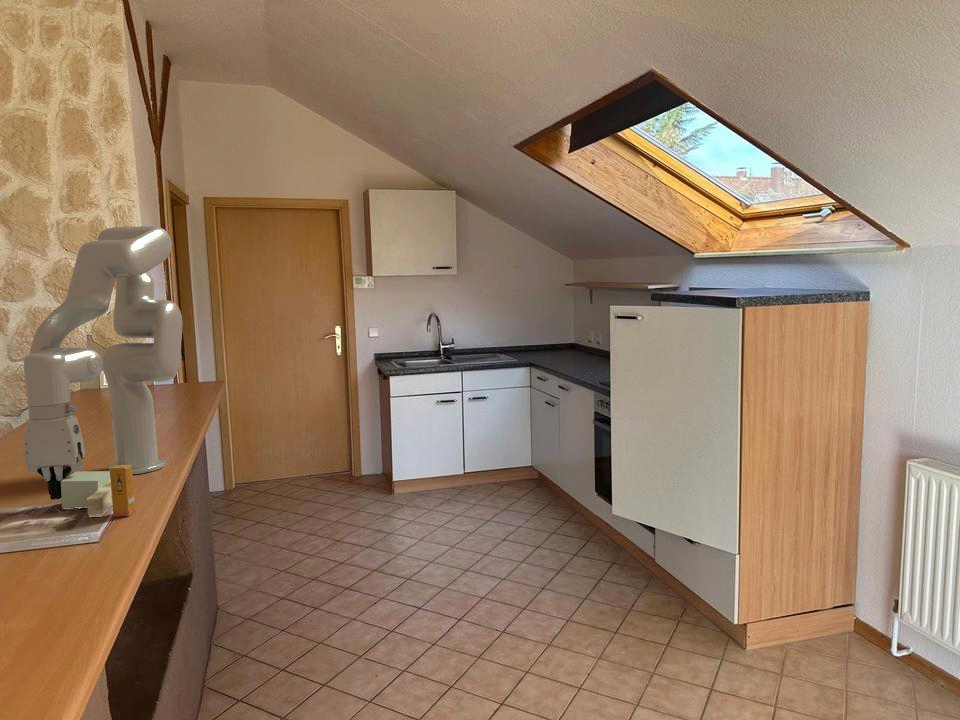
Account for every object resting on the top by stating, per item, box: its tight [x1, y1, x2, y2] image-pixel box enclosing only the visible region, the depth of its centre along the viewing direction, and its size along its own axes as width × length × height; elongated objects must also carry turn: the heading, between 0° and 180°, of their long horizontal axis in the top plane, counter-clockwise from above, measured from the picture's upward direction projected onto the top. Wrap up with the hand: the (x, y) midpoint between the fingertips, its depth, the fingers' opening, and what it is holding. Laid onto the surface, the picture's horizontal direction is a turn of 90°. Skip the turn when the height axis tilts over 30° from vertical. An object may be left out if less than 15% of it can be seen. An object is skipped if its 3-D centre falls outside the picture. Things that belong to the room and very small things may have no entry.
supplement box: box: [110, 465, 137, 518], centre depth 136 cm, size 3×3×10 cm
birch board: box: [87, 480, 112, 515], centre depth 143 cm, size 18×2×4 cm, turn 9°
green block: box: [61, 470, 110, 509], centre depth 142 cm, size 7×7×6 cm
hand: (58, 497), depth 142 cm, fingers closed
